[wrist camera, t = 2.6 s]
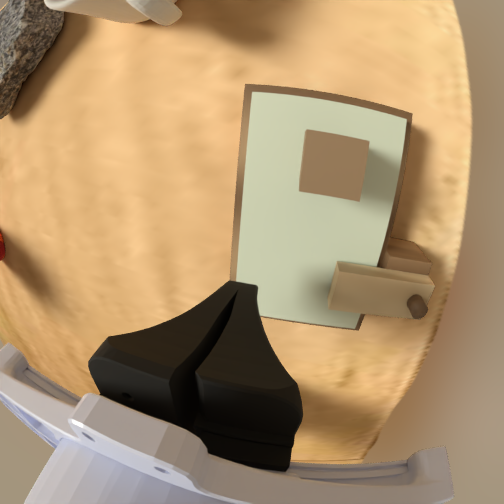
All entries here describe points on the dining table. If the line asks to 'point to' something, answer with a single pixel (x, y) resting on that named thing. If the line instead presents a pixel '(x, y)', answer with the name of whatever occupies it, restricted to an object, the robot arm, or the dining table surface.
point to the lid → (314, 200)
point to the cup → (122, 9)
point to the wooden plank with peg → (379, 291)
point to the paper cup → (2, 247)
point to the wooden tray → (394, 250)
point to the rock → (23, 44)
